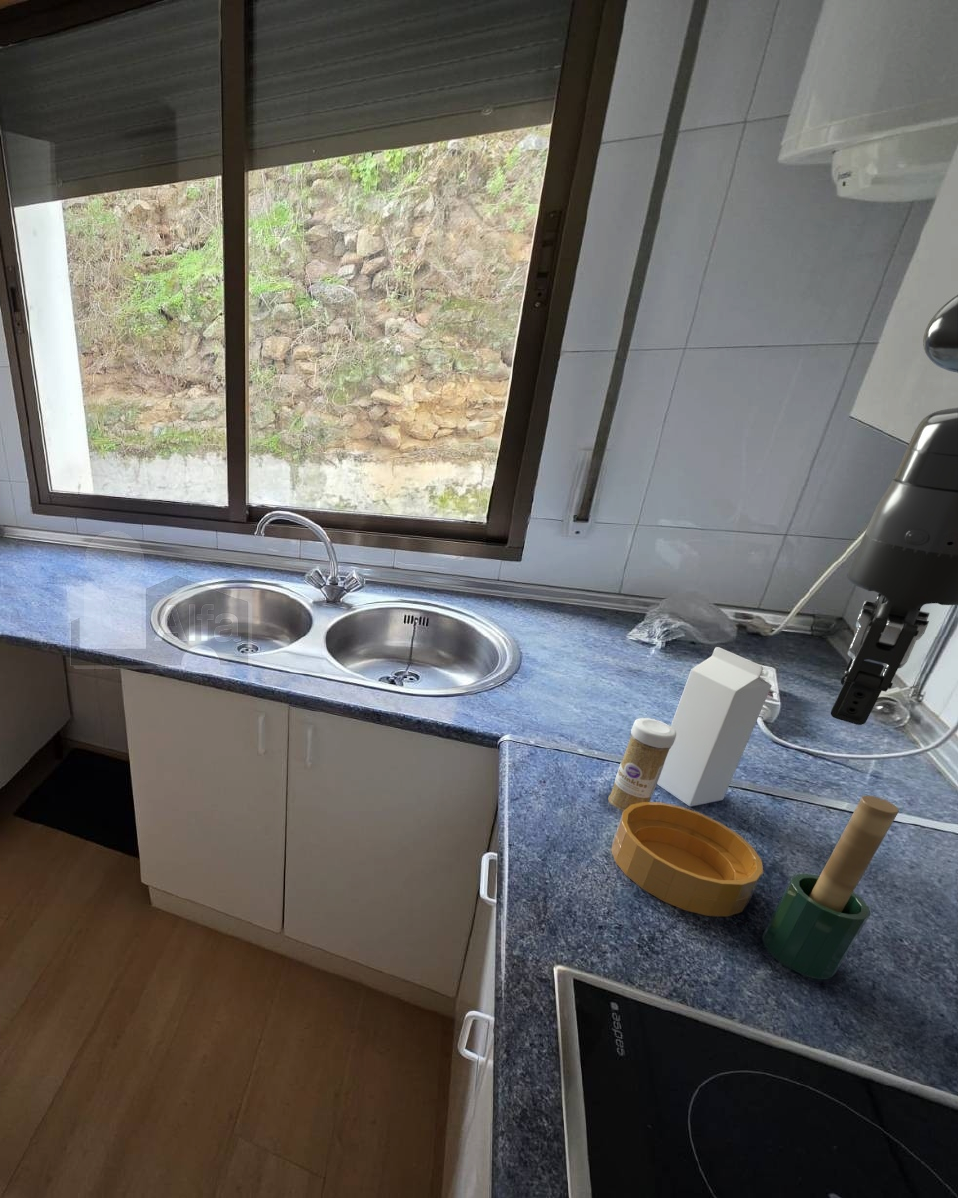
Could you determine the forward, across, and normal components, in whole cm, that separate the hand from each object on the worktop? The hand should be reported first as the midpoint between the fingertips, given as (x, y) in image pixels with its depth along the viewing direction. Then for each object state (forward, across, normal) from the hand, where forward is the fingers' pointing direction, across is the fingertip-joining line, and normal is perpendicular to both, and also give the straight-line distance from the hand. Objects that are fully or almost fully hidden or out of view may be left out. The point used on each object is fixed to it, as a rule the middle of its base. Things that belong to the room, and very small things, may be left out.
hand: (850, 703), depth 59 cm
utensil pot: (+29, -1, -4) cm, 29 cm away
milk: (+29, +23, +10) cm, 39 cm away
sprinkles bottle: (+29, +13, +14) cm, 35 cm away
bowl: (+29, +3, +7) cm, 30 cm away
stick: (+28, -1, -4) cm, 29 cm away
